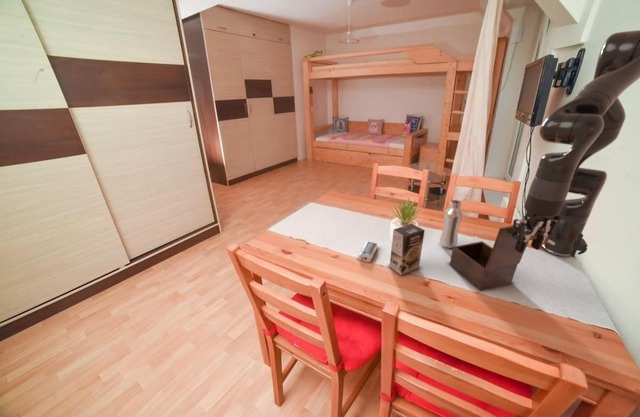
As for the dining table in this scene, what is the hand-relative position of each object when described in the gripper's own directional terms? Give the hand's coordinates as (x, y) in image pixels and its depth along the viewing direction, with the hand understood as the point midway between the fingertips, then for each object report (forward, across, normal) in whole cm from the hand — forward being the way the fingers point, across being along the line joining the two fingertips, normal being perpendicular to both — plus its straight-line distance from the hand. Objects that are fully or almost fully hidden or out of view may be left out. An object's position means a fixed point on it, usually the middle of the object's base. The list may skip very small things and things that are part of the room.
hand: (527, 249), depth 75 cm
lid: (+2, 0, +5) cm, 6 cm away
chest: (+18, 0, +13) cm, 22 cm away
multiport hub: (+18, -32, +35) cm, 51 cm away
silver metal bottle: (+18, +1, +31) cm, 36 cm away
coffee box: (+18, -23, +23) cm, 38 cm away
